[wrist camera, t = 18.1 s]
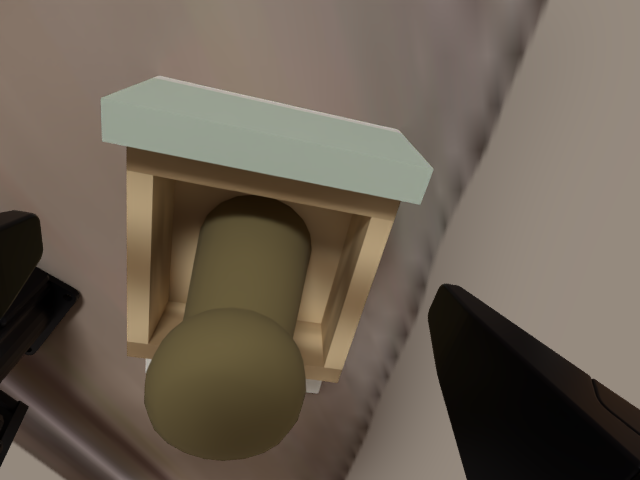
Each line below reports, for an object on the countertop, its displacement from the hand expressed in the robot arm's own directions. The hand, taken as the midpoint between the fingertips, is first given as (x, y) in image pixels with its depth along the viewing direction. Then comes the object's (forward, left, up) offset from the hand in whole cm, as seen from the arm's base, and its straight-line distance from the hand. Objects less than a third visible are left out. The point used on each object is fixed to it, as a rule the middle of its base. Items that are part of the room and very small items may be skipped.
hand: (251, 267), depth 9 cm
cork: (-5, -3, -11) cm, 13 cm away
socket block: (-5, -3, -12) cm, 14 cm away
